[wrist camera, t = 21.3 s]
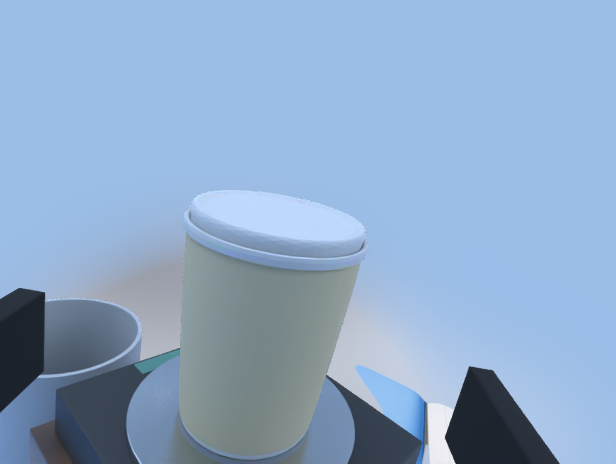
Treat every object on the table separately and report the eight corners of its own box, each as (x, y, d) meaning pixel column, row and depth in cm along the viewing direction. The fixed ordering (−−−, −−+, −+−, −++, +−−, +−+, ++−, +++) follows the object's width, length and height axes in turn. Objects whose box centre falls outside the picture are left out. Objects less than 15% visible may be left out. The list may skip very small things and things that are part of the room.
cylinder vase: (149, 517, 46) (170, 323, 39) (52, 645, 34) (59, 400, 28) (61, 474, 49) (67, 286, 42) (-55, 578, 37) (-73, 342, 31)
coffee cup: (350, 406, 26) (397, 226, 22) (258, 513, 18) (311, 259, 15) (239, 343, 30) (265, 185, 27) (125, 407, 22) (142, 193, 19)
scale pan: (394, 433, 25) (396, 425, 25) (221, 590, 15) (223, 579, 15) (256, 334, 33) (257, 327, 33) (84, 395, 23) (84, 387, 23)
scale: (410, 479, 26) (423, 441, 25) (212, 708, 14) (224, 650, 14) (248, 353, 35) (253, 322, 35) (54, 431, 24) (55, 388, 23)
